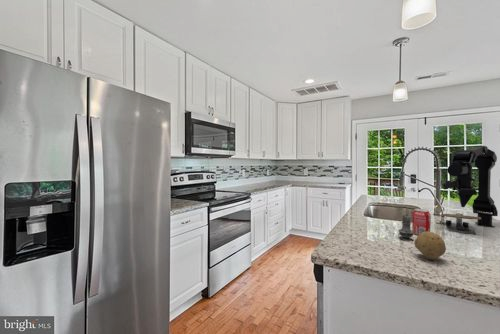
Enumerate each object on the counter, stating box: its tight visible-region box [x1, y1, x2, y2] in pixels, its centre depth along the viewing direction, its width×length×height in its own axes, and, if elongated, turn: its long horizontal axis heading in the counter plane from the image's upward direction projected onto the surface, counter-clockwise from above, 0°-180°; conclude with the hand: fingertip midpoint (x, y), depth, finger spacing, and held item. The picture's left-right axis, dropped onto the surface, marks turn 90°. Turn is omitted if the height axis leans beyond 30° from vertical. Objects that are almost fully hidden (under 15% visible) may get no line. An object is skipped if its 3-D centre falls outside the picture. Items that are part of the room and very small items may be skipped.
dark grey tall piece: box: [398, 212, 415, 242], centre depth 104 cm, size 6×6×12 cm
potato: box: [413, 231, 447, 261], centre depth 83 cm, size 9×9×10 cm
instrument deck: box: [441, 212, 481, 220], centre depth 120 cm, size 22×12×2 cm, turn 146°
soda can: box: [411, 208, 432, 236], centre depth 110 cm, size 7×7×12 cm
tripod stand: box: [444, 218, 477, 236], centre depth 120 cm, size 16×10×5 cm, turn 146°
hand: (462, 207), depth 113 cm, fingers closed
